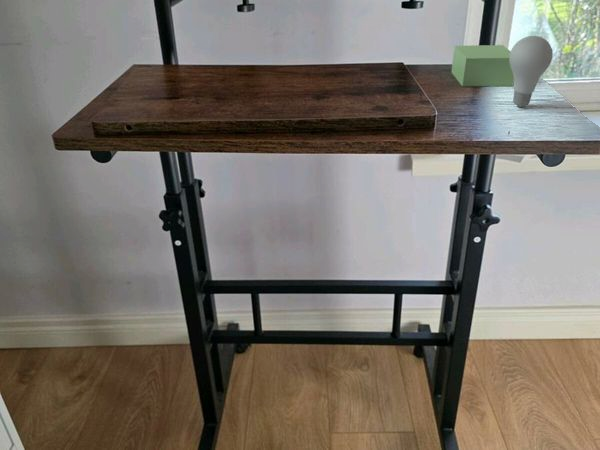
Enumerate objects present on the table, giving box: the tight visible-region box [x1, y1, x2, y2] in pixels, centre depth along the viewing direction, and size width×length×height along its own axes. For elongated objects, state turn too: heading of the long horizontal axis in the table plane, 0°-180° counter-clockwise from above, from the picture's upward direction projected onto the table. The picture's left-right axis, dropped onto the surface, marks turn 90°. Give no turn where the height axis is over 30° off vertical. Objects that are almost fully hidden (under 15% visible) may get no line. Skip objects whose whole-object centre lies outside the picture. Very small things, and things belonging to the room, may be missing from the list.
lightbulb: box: [509, 35, 554, 108], centre depth 83 cm, size 6×6×11 cm
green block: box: [450, 44, 514, 87], centre depth 98 cm, size 9×9×5 cm
